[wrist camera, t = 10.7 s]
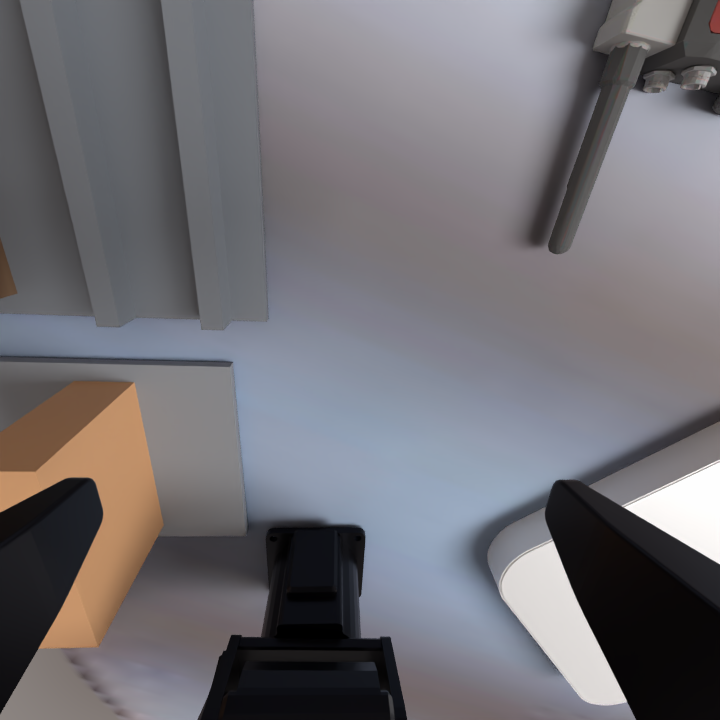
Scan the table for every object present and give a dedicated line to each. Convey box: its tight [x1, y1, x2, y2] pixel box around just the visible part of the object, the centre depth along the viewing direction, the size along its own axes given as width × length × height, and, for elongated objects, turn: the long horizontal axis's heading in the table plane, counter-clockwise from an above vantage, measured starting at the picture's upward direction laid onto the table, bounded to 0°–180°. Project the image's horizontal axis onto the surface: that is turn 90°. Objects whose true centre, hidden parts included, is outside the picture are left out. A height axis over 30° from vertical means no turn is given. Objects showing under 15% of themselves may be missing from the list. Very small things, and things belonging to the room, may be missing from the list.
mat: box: [0, 357, 248, 537], centre depth 22 cm, size 12×13×1 cm
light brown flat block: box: [0, 381, 164, 649], centre depth 18 cm, size 10×3×7 cm, turn 177°
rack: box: [0, 0, 268, 330], centre depth 15 cm, size 13×15×2 cm
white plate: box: [487, 421, 720, 705], centre depth 28 cm, size 22×22×3 cm
